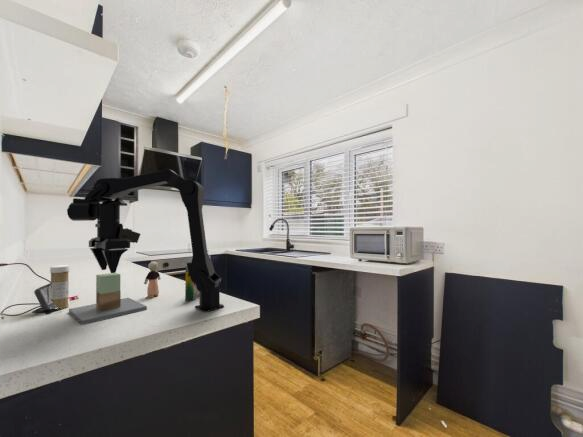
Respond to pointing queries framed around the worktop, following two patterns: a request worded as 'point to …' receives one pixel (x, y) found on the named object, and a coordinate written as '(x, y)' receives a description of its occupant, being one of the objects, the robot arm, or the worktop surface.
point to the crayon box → (190, 288)
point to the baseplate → (105, 311)
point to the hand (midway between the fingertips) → (108, 271)
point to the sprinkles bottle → (59, 285)
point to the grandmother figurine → (152, 280)
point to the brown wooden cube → (108, 300)
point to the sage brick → (107, 283)
